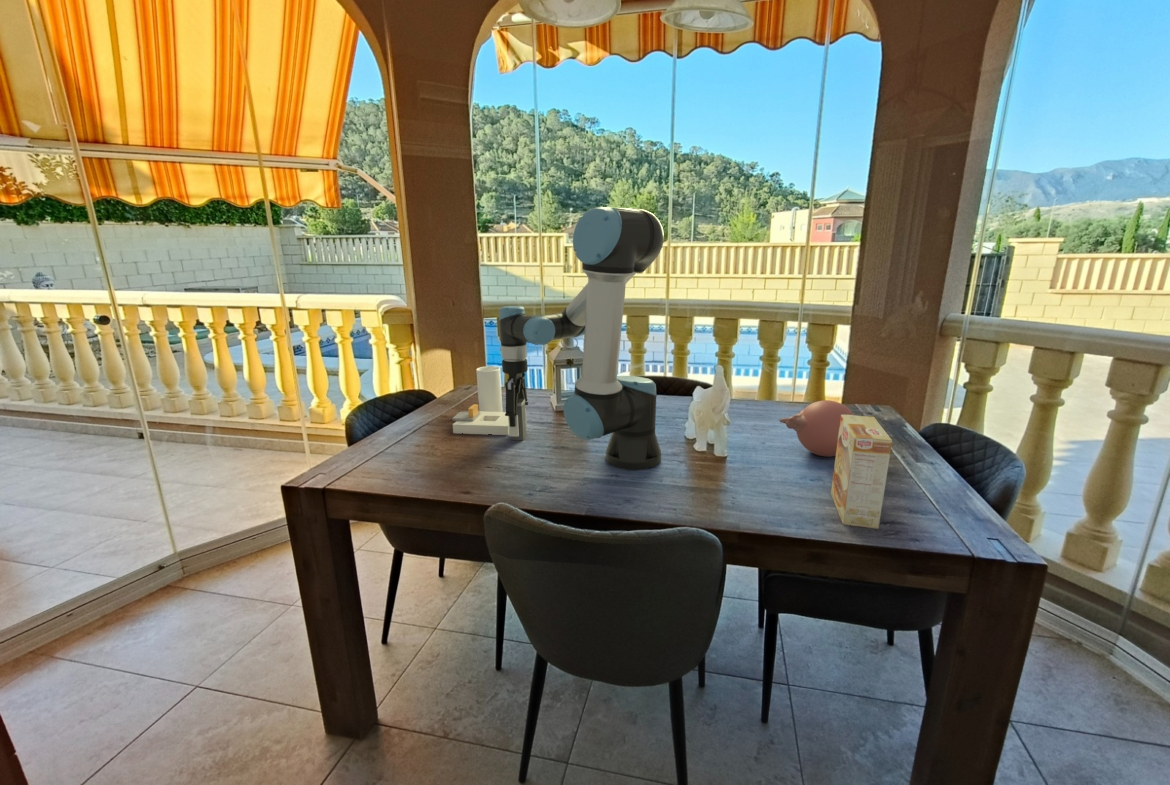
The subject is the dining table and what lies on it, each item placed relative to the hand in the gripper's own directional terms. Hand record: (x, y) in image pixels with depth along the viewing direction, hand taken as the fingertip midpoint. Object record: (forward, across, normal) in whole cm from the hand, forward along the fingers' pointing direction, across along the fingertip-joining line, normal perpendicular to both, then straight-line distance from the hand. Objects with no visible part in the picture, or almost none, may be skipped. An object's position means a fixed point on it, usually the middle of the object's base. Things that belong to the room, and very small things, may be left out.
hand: (518, 430), depth 156 cm
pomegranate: (+3, +4, +86) cm, 86 cm away
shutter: (-1, -9, -20) cm, 22 cm away
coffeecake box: (+3, +36, +85) cm, 92 cm away
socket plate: (+2, -9, -13) cm, 16 cm away
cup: (+3, -25, -17) cm, 30 cm away
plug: (+2, 0, 0) cm, 2 cm away
